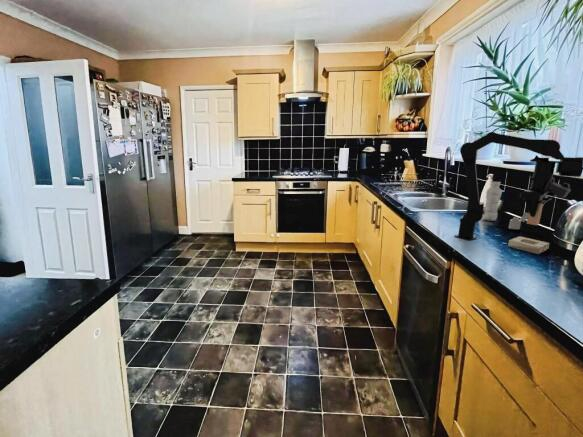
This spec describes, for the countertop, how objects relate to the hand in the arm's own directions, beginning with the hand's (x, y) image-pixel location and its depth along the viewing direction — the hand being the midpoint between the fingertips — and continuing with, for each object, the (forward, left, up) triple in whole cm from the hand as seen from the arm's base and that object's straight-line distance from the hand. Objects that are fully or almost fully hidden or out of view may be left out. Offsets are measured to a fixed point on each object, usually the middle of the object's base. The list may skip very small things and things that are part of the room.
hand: (534, 216), depth 121 cm
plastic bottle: (+33, +29, -13) cm, 45 cm away
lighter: (+28, +14, -13) cm, 34 cm away
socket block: (0, 0, -13) cm, 13 cm away
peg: (0, 0, -3) cm, 3 cm away
